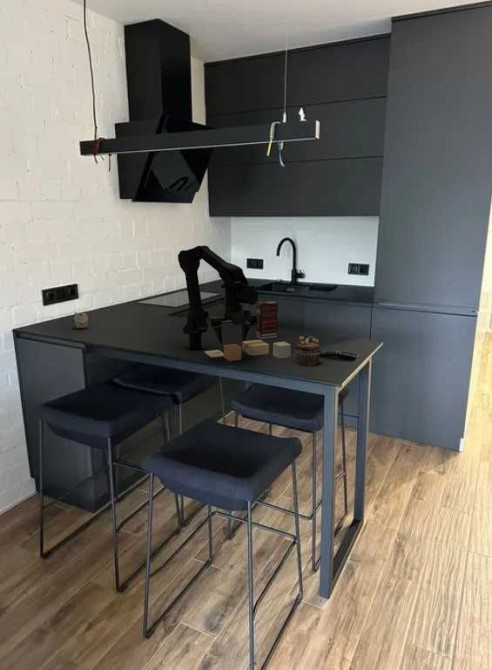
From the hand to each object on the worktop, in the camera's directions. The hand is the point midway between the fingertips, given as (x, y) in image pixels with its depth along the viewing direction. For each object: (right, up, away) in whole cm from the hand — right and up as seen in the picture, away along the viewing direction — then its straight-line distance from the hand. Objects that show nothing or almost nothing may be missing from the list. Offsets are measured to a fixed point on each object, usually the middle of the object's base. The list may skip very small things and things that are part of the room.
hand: (232, 342), depth 178 cm
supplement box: (+14, +2, +34) cm, 37 cm away
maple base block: (+9, -4, +11) cm, 15 cm away
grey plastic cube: (+19, -6, +6) cm, 20 cm away
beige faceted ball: (-72, +6, +46) cm, 86 cm away
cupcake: (+28, -8, -2) cm, 29 cm away
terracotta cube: (0, -6, +1) cm, 7 cm away
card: (-7, -5, +7) cm, 11 cm away
